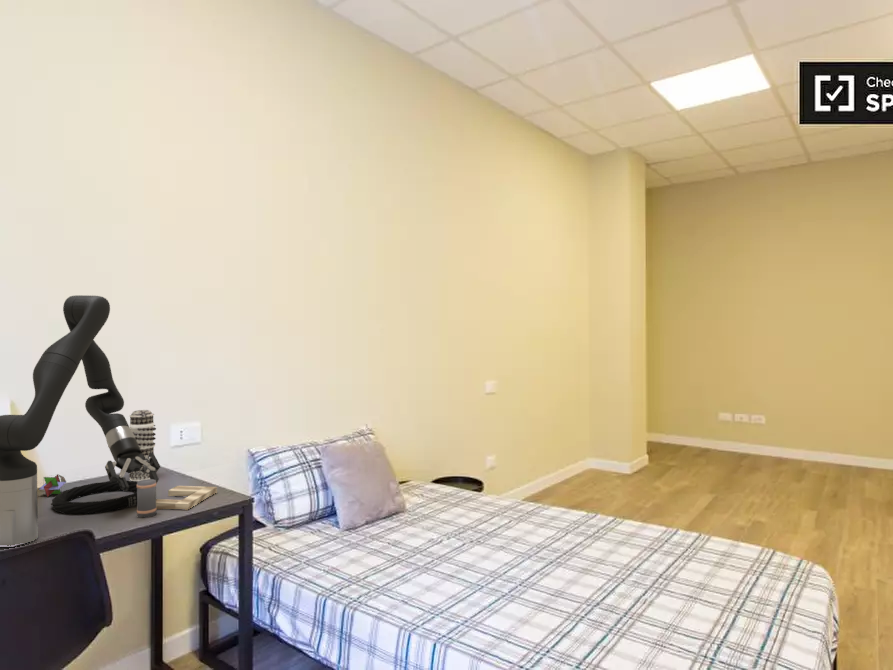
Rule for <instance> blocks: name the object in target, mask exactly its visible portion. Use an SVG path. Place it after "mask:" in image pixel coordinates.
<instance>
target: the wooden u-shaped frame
mask: <svg viewBox="0 0 893 670" xmlns="http://www.w3.org/2000/svg"><path fill="white" fill-rule="evenodd" d="M215 493H216V494H217V493H218V487H217V486H200V485H199V486H198V485H197V486H196V485H195V486H194V485H176V486H175V487H172V488H170V489H168V490H167V497H168V496H188V497H183V499H167V498H166V499H165V498H164V499H162V498H156V510H162V509H185V510H184V511H189V510H191V509H192V507H193V506H194V507H196V506H198V505H199V504H201V503H202V502H201V501H203V500H204V499H206V498H207V497H209V496H211V495H213V494H214V495H216V494H215ZM214 495H213V496H214ZM211 497H212V496H211ZM209 498H210V497H209ZM206 500H207V499H206ZM204 501H205V500H204ZM204 501H203V502H204ZM200 502H201V503H200ZM198 503H199V504H198ZM197 504H198V505H197ZM195 505H196V506H195ZM194 507H193V508H194ZM190 508H191V509H190ZM188 509H189V510H188Z"/></svg>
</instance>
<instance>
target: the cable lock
mask: <svg viewBox="0 0 893 670" xmlns="http://www.w3.org/2000/svg"><path fill="white" fill-rule="evenodd" d="M126 481H127V483H128V485H129V489H128V491H127V492H129V491H130V492H133V493H132V494H126V495H124V496H119V497H116V498H112V499H111V498H110V499H106V500H105V499H104V500H99V501H97V500H94V501H85V502H84V501H83V502H81V501H79V502H77V501H72V500H74V499H77V498H80V497H79V496H81V497H84V496H83V495H85V496H88V495H92V494H91V493H94V494H98V493H97V492H101V493H104V491H108V492H118V491H117V490H122V489H121V487H120V485H119V483H118V482H117V481H113V482H110V480H108V481H102V482H93V483H90V484H89V483H88V484H83V485H81V486H74V487H71V488H70V489H69V488H68V489H65V490H62V491H61V493H60V494H55V495H54V498H52V499H51V503H50V505H52V506H51V508H52V509H54V511H56V512H57V513H58V512H59V513H61V514H64V513H65V514H67V515H87V514H88V513H91V514H100V512H101V513H105V512H106V511H107V512H112V510H113V511H117V509H118V510H120V509H124V507H125V508H132V507H135V506H137V482H138V481H130V480H126ZM134 491H135V492H134ZM71 499H72V500H71ZM127 506H128V507H127ZM131 506H132V507H131ZM88 515H89V514H88Z"/></svg>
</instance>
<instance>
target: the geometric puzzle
mask: <svg viewBox="0 0 893 670" xmlns="http://www.w3.org/2000/svg"><path fill="white" fill-rule="evenodd" d="M43 480H44V483H43V485H41V486H39V488H37V491H38V490H39V491H40V492H43V491H44V493H45V495H46V498H49V497H50V496H51V495H58V494H60V493H62V491H61V489H62V487H63V486H64V485H66V484H67V480H66V478H65V477H64V476H62V475H60V474H58V473H57V474H56V475H54V476H43ZM41 483H42V482H41ZM41 483H40V484H41Z"/></svg>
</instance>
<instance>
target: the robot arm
mask: <svg viewBox="0 0 893 670" xmlns="http://www.w3.org/2000/svg"><path fill="white" fill-rule="evenodd" d="M62 307H63V308H62V313H63V316H64V319H65V322H66V325H67V327H68V329H69V332H68V333H67V334H65V335H64V336H61V337H60V338H59V339H58V340H56V341H55V342H53V343H52V344H51V345H49V346H48V347H47V348H46V349H45V350H44V351H43V353H42V354H41V356H40V358H39V359H38V361H37V363H36V364H35V367H34V369H33V372H32V382H33V383H32V384H33V388H34V397H33V401H32V402H31V404H30V406H29V408H28V409H27V411H26V412H25V414H2V415H0V545H7V546H9V545H10V546H11V545H15V544H20V543H27V542H30V543H32V542H31V541H33V540H35V539H36V540H38V539H39V538H38V537H39V516H38V515H39V513H38V512H39V511H38V510H39V509H38V506H39V505H38V503H39V502H38V465H37V463H36V462H35V461H33V460H31V459H29V458H27V457H26V456H24V454H22V452H24V451H25V452H26V451H31V450H34V449H35V448H36V447H38V446H39V445H40V444H41V442H42V441H43V439H44V438H45V435H46V434H47V430H48V429H49V426H50V423H51V421H52V419H53V415H54V413H55V411H56V409H57V406H58V405H59V402H61V401H60V400H61V398H63V397H62V396H63V395H64V394H65V393H64V392H65V390H66V389H67V387H68V385H69V383H70V382H71V380H72V378H73V377H74V375H75V373H76V371H77V369H78V367H79V365H80V364H81V361H82V365H83V368H84V369H83V370H84V373H85V377H86V382H87V386H88V387H89V388H90V389H91V390H107V392H102V393H98V394H95V395H91V396H89V397H88V398H87V399H86V400H85V403H84V405H85V410H86V412H87V413H88V415H89V416H90V417H91V418H92V419H93V420H94V421H96V423H97V424H98V425H99V427H100V428H101V430H102V432H103V434H104V435H103V436H104V437H105V440H106V444H107V448H108V449H109V451H110V454H111V456H112V457H113V460H114V461H112V460H108V461H107V462H106V465H105V466H104V468H105V472H106V474H107V477H108V479H109V480H108V481H110V482H113V481H117V482H118V483H119V485H120V487H121V489H122V490H124V491H123V492H125V493H126V492H129V491H128V489H129V485H128V483H127V481H128V480H127V479H126V477H124V476H125V474H126V473H127V474H130V473H131V472H136V471H139V470H140V471H141V472H145V473H147V474H149V477H150V479H154V480H156V485H157V483H158V481H159V476H158V474H157V473H158V472H159V470H160V468H161V465H160V463H159V461H158V459H157V457H156V456H155V453H154V454H153V453H150V454H149V455H146V456H144V455H142V453H141V450H140V447H139V445H138V443H137V441H136V439H135V436H134V434H133V432H132V431H131V428H130V424H129V423H128V421H127V419H126V418H125V416H124V414H123V413H117V412H119V411H122V410H123V408H124V405H125V400H124V398H123V395H122V394H121V393H120V391H119V389H118V388H117V386H116V383H115V381H114V378H113V374H112V369H111V364H110V361H109V358H108V357H107V354H106V353H105V352H104V351H103V350H102V348H101V347H100V346H99V345H98V344H97V342H96V341H95V340H94V339H95V338H96V336H97V335H98V334H99V333H100V331H101V330H102V328H103V327H104V326H105V324H106V323H107V321H108V319H109V315H110V313H111V305H110V302H109V300H108V299H107V298H106V297H104V296H101V295H88V294H87V295H71V296H69V297H67V298H66V299H65V301H64V303H63V306H62ZM144 460H146V461H147V462H146V461H144ZM148 462H149V463H150V464H149V463H148ZM143 465H144V468H143V467H142V466H143ZM150 465H151V466H150ZM115 467H116V468H118V469H120V472H119V474H117V472H116V469H115ZM36 540H35V541H36ZM33 542H34V541H33ZM27 544H28V543H27Z"/></svg>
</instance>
